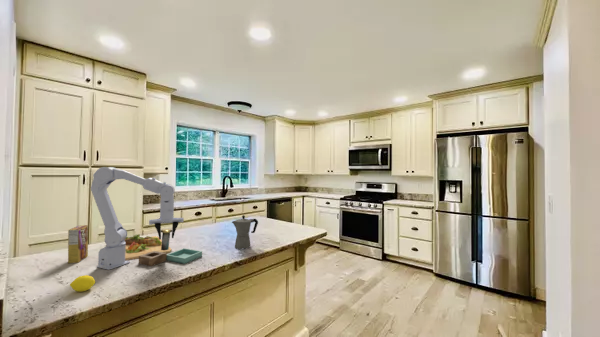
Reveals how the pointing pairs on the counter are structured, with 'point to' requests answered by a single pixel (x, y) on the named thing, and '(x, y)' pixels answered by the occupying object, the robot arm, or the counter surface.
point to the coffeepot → (243, 232)
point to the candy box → (77, 243)
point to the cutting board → (142, 246)
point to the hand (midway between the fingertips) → (166, 238)
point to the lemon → (82, 283)
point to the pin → (165, 239)
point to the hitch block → (152, 258)
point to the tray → (184, 255)
